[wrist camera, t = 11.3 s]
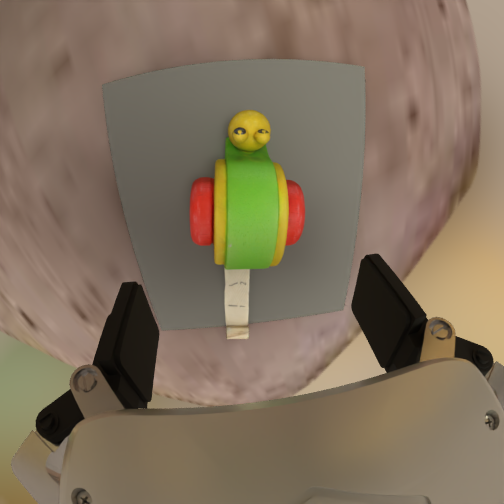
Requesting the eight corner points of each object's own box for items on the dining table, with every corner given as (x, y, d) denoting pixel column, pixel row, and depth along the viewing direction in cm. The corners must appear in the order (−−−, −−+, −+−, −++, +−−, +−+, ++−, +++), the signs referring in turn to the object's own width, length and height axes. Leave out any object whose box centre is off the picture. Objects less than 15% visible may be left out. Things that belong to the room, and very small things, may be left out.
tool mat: (162, 326, 25) (161, 330, 25) (105, 85, 14) (102, 84, 13) (341, 306, 26) (343, 310, 26) (360, 67, 15) (364, 66, 15)
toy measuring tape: (295, 113, 16) (333, 120, 11) (268, 329, 26) (279, 385, 20) (197, 108, 15) (183, 110, 10) (202, 330, 25) (201, 388, 20)
